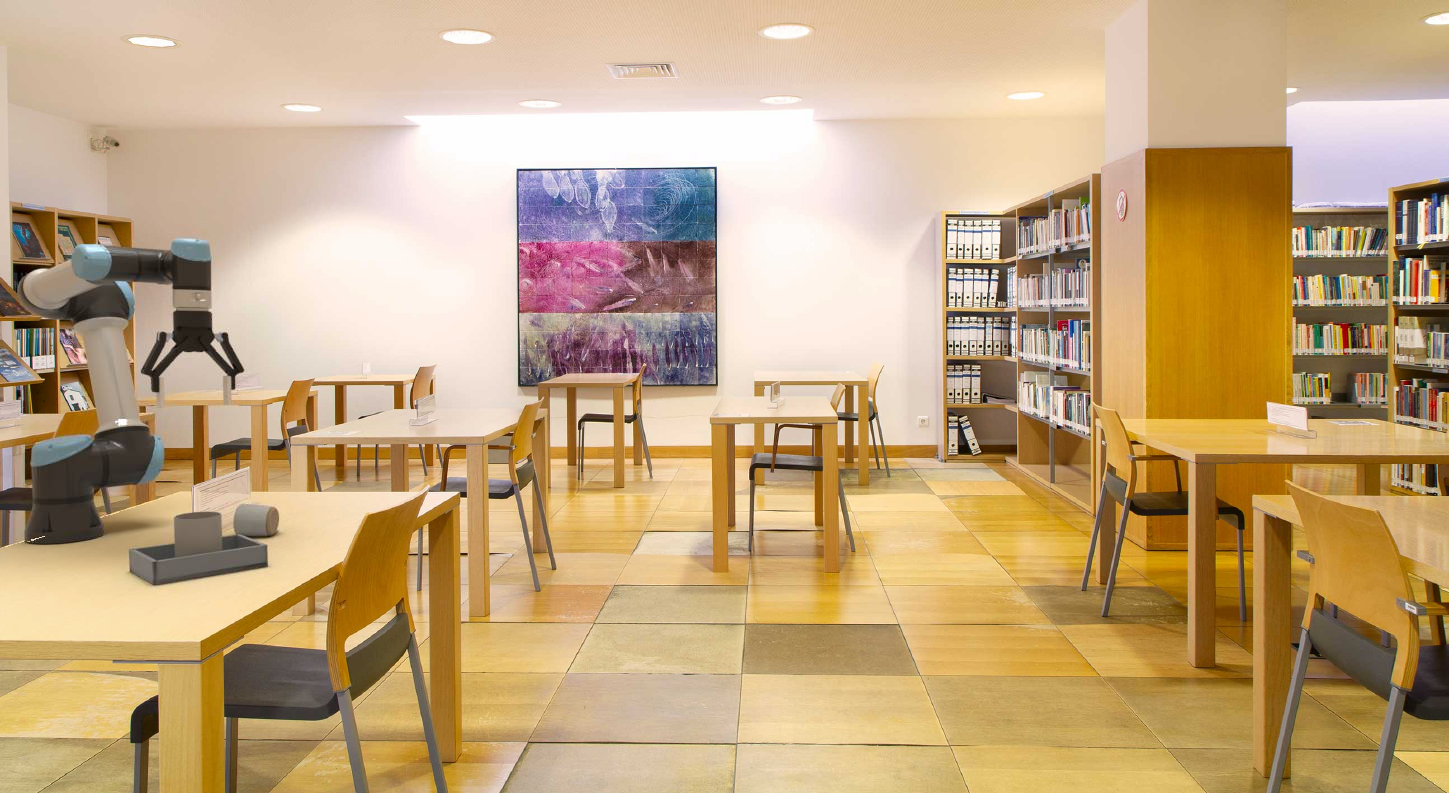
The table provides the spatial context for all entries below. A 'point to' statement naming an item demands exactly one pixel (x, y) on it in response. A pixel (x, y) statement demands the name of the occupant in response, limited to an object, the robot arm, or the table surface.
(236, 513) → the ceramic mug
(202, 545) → the cup
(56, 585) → the table surface
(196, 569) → the slate bin
